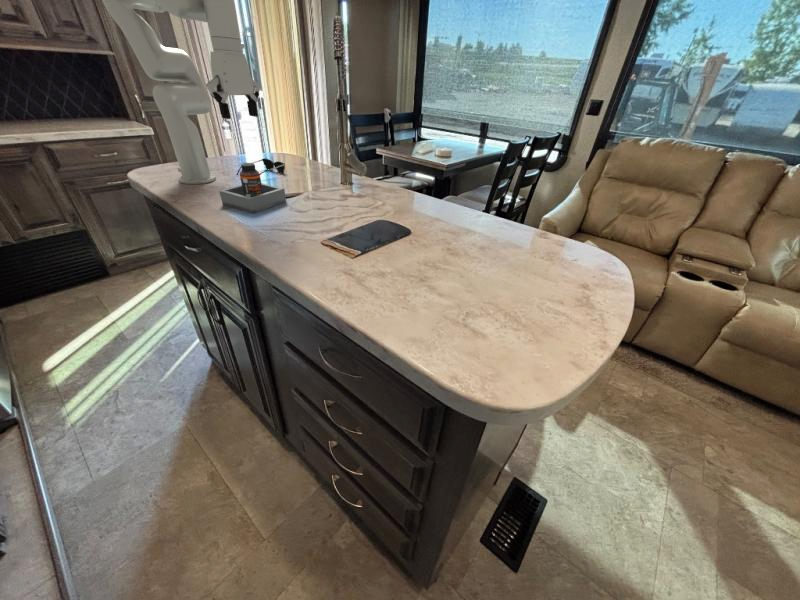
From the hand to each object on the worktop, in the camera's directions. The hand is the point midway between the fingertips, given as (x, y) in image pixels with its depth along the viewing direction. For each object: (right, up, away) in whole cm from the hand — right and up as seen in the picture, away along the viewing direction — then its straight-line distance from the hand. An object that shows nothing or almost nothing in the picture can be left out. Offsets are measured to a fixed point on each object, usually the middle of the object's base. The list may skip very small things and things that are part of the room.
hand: (240, 117), depth 99 cm
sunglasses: (-10, -3, +39) cm, 40 cm away
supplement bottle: (0, -23, +9) cm, 24 cm away
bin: (0, -23, +9) cm, 25 cm away
